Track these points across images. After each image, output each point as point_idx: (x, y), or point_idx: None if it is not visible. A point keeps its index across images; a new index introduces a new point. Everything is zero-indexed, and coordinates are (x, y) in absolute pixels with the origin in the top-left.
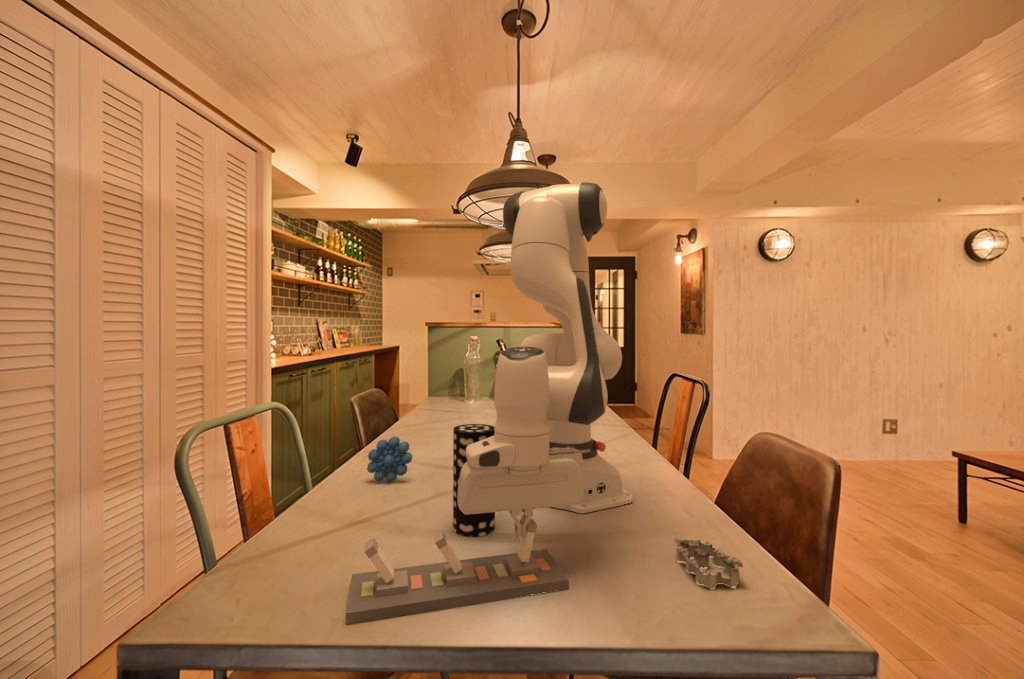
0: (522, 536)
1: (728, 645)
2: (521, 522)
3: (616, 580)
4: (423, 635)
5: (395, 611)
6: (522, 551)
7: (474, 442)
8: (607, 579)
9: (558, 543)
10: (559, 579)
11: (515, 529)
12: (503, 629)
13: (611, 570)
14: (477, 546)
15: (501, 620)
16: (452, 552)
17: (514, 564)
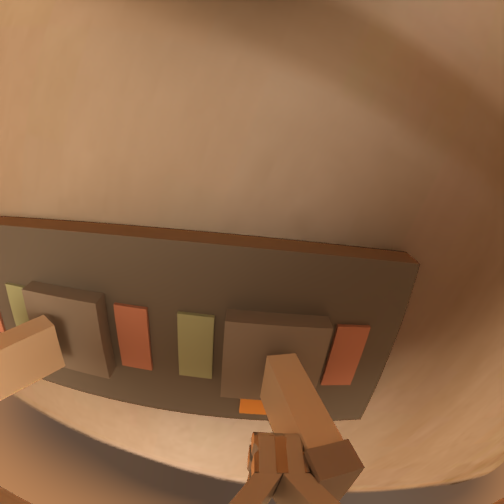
0: (289, 424)
1: (424, 485)
2: (281, 493)
3: (456, 387)
4: (45, 402)
5: None
6: (269, 412)
7: None
8: (447, 382)
9: (481, 178)
10: (341, 416)
11: (254, 452)
12: (169, 446)
13: (479, 354)
14: (186, 66)
15: (169, 432)
16: (16, 380)
17: (241, 372)
